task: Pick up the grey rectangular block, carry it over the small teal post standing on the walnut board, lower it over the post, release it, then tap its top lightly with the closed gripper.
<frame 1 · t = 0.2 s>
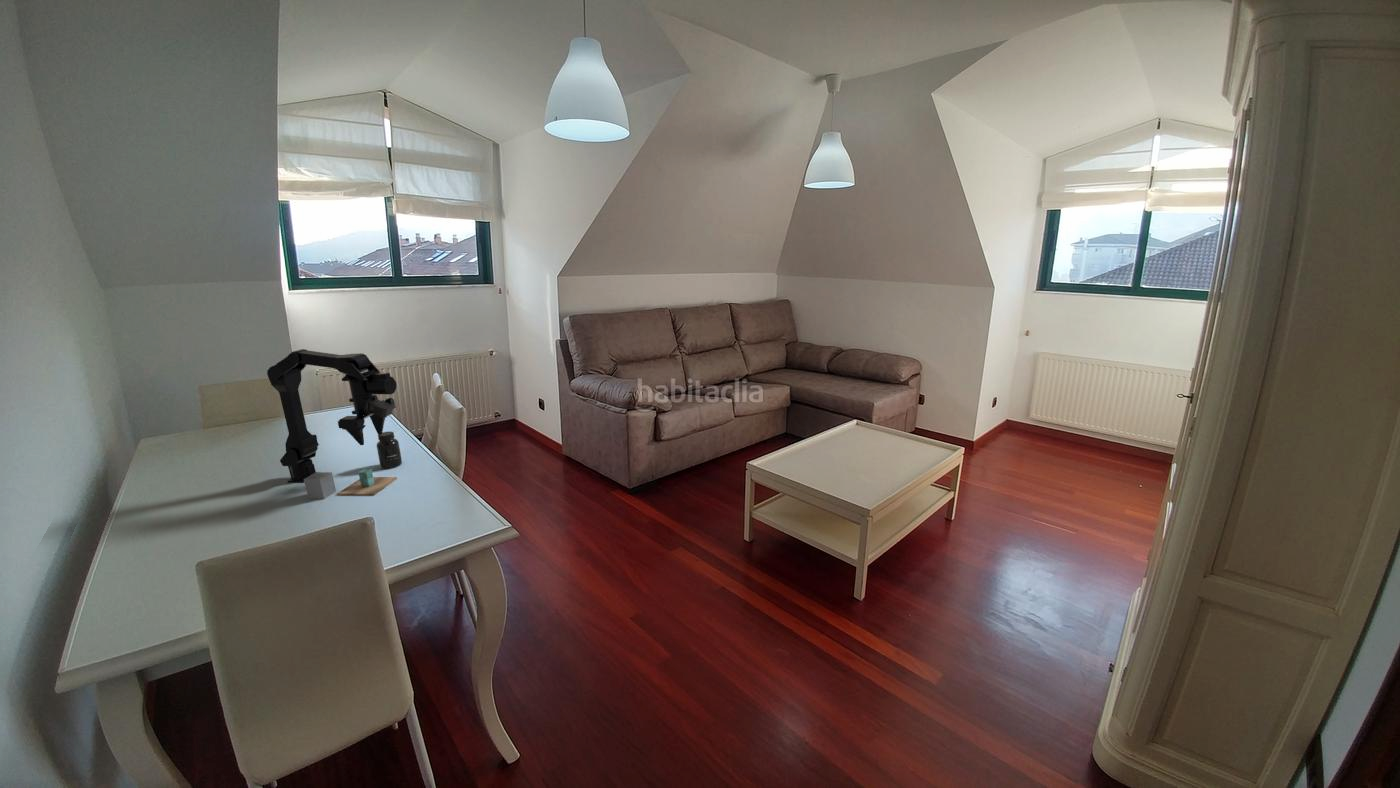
hand: (371, 439, 175), 14 cm above the table, fingers open, 9 cm apart
grey rectangular block: (322, 494, 169), on the table
supplement bottle: (391, 465, 191), on the table
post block: (368, 486, 174), on the table
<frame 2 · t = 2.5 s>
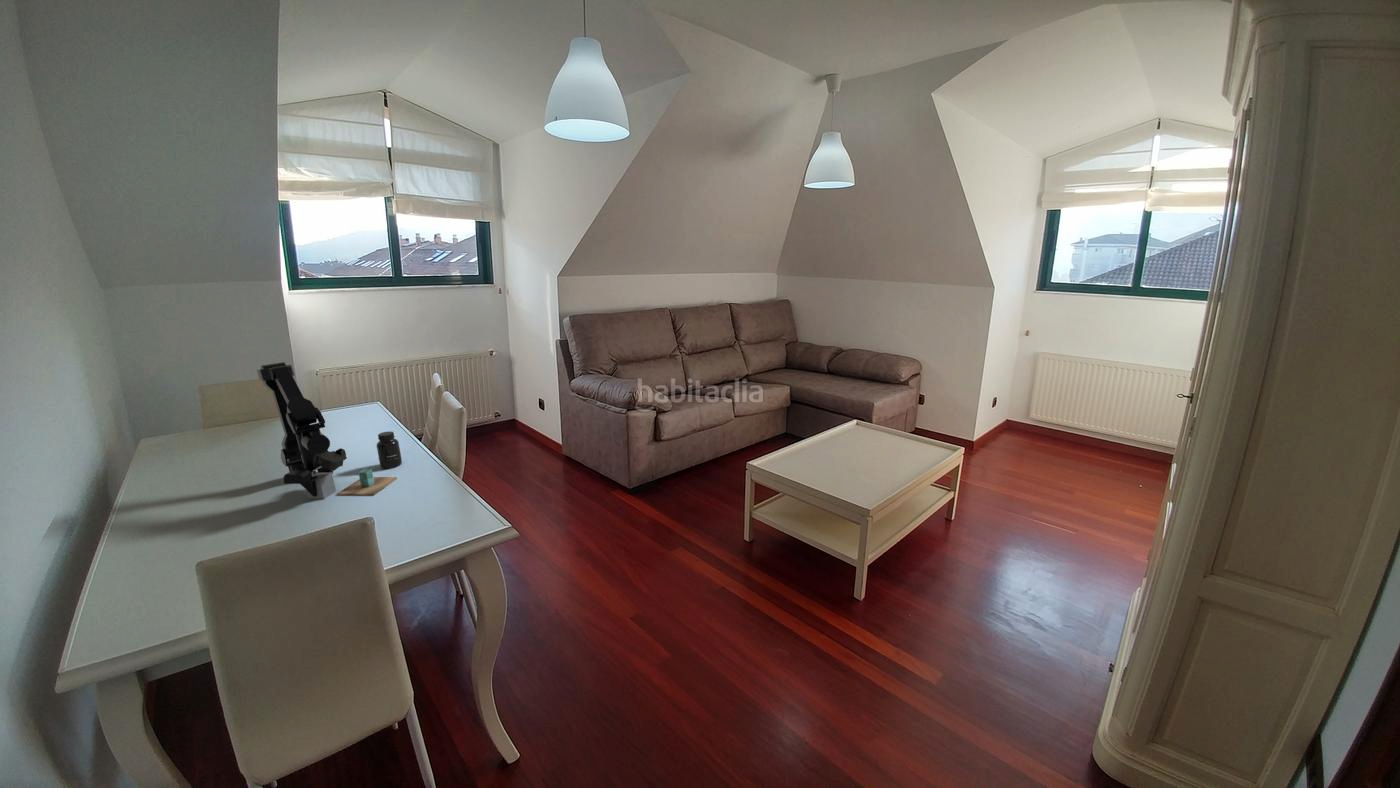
hand: (321, 492, 169), 1 cm above the table, fingers closed on grey rectangular block, 5 cm apart
grey rectangular block: (322, 494, 169), on the table, touching gripper
everything else where it was.
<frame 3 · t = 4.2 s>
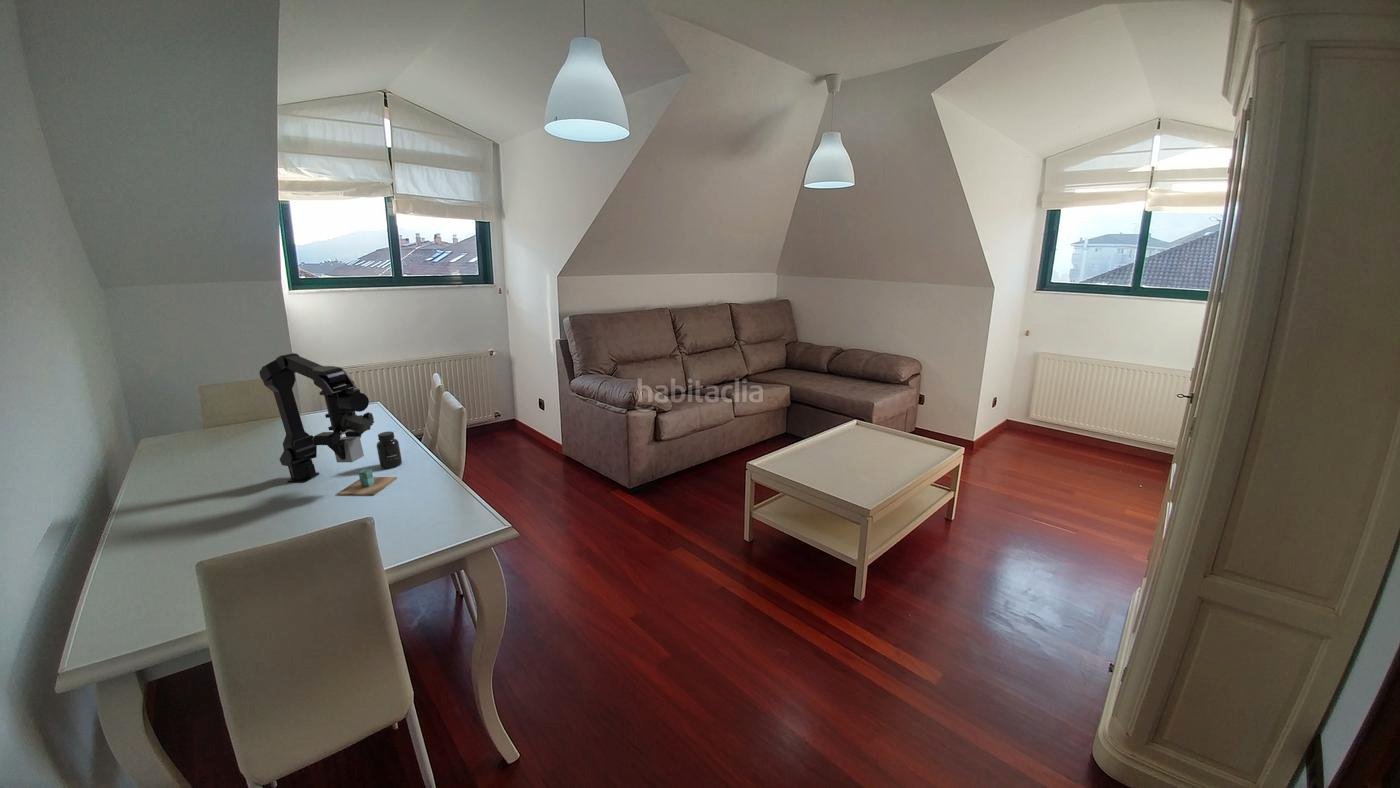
hand: (350, 456, 169), 11 cm above the table, fingers closed on grey rectangular block, 5 cm apart
grey rectangular block: (350, 459, 169), point 10 cm above the table, touching gripper
everything else where it was.
when the fingers open (2 cm above the table, at t = 6.2 s): grey rectangular block stays where it is, resting on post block.
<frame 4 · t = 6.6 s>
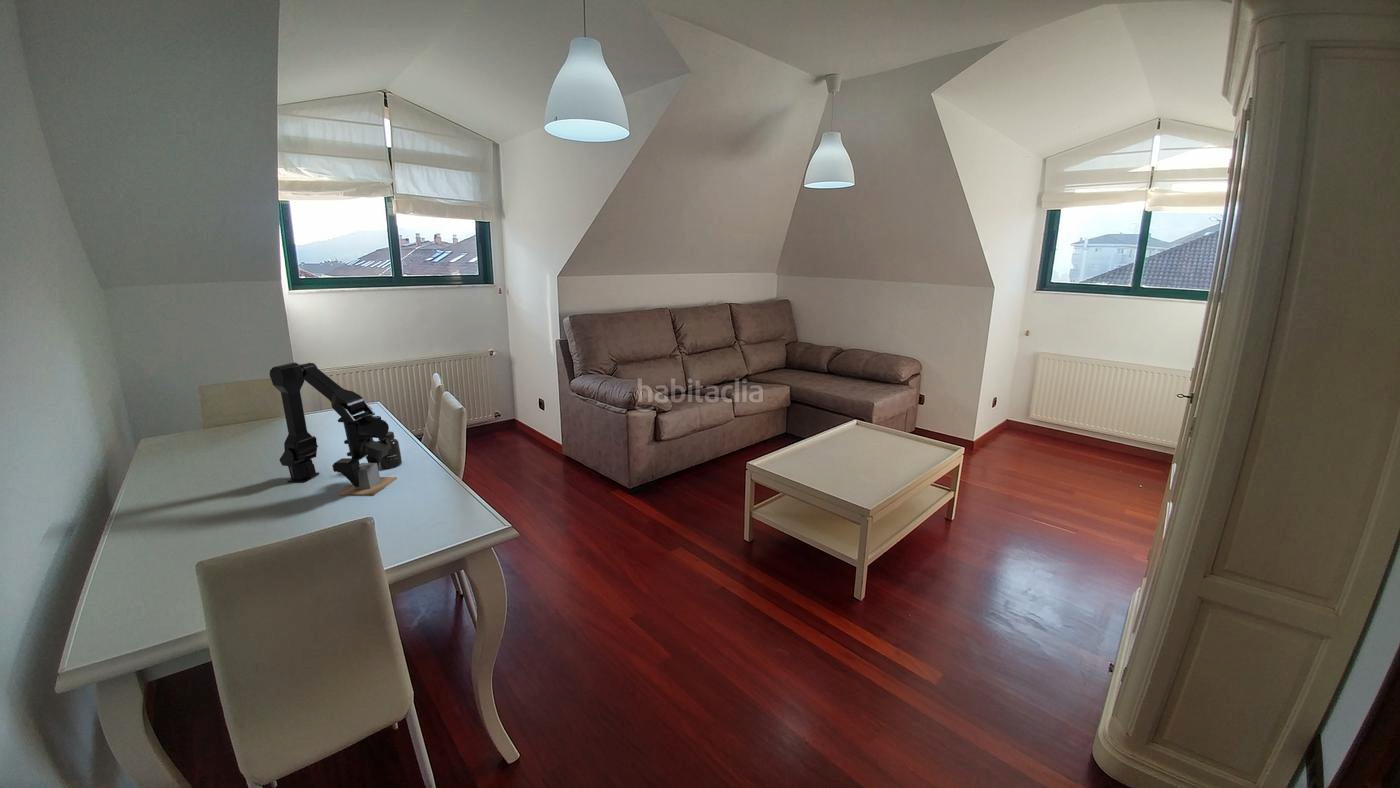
hand: (366, 480, 173), 2 cm above the table, fingers open, 9 cm apart
grey rectangular block: (368, 484, 174), point 1 cm above the table, touching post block
everything else where it was.
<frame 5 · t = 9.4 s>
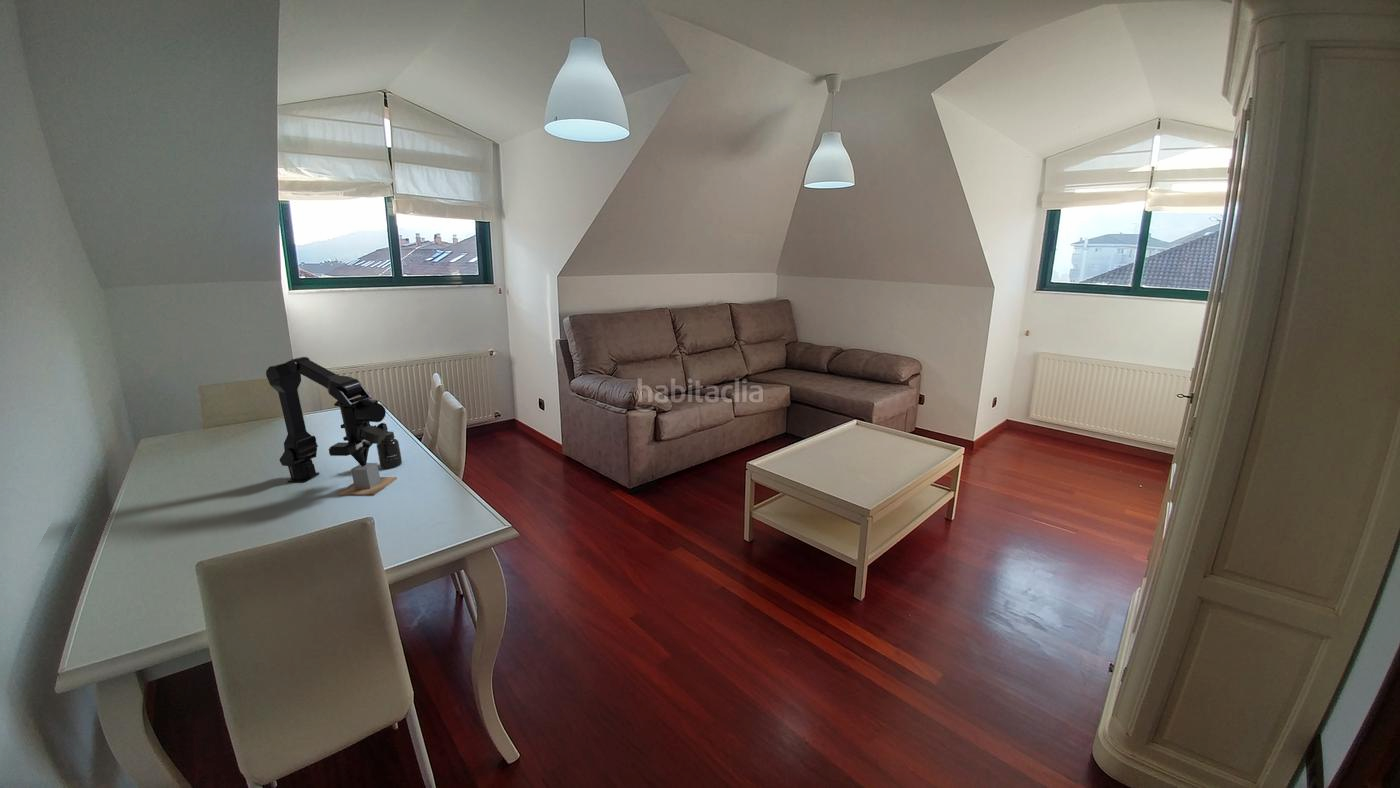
hand: (363, 465, 172), 7 cm above the table, fingers closed
nothing on the table moved.
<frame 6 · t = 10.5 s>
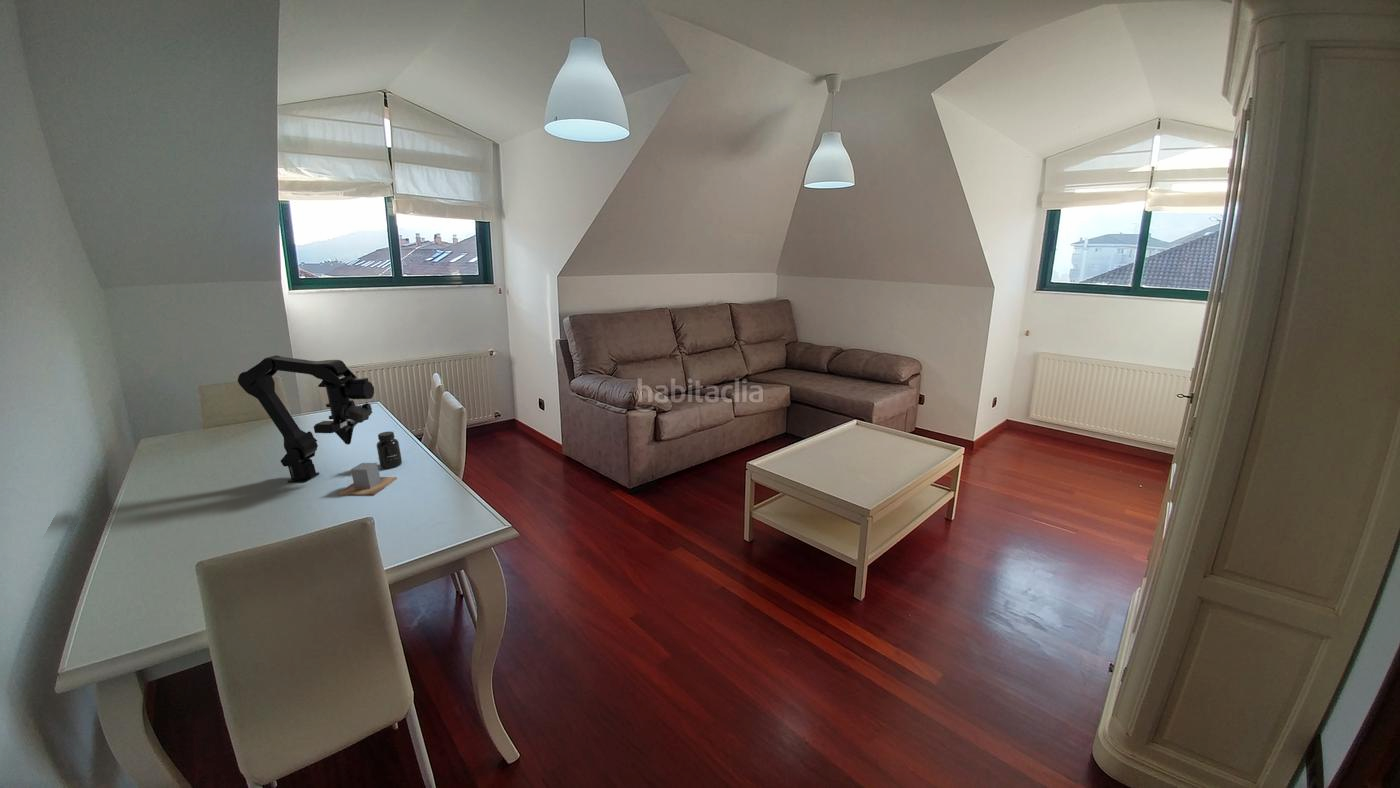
hand: (348, 444, 179), 12 cm above the table, fingers closed
nothing on the table moved.
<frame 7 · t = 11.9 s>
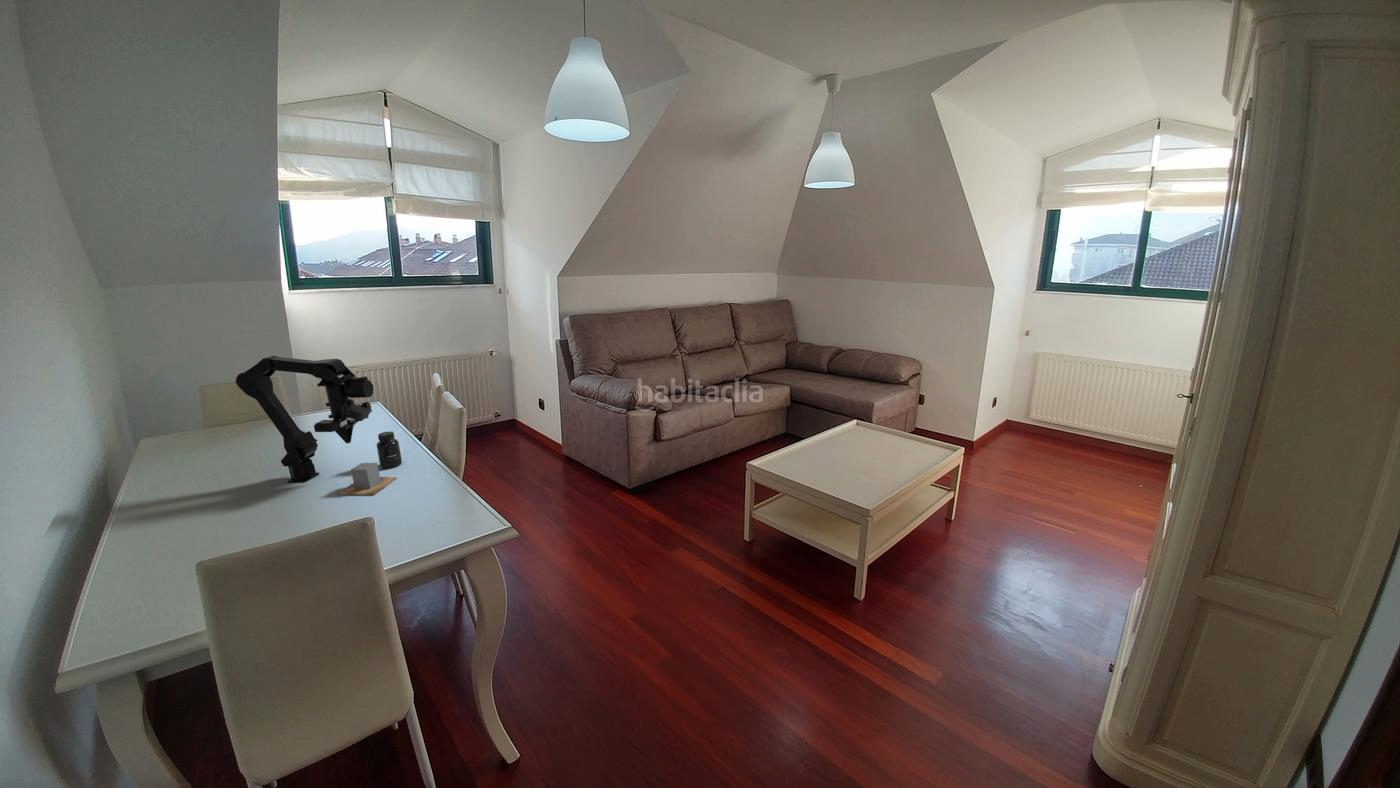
hand: (348, 443, 179), 12 cm above the table, fingers closed
nothing on the table moved.
at the end: grey rectangular block 0.0 cm from the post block (horizontally); grey rectangular block point 0.6 cm above the table; the gripper is holding nothing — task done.
